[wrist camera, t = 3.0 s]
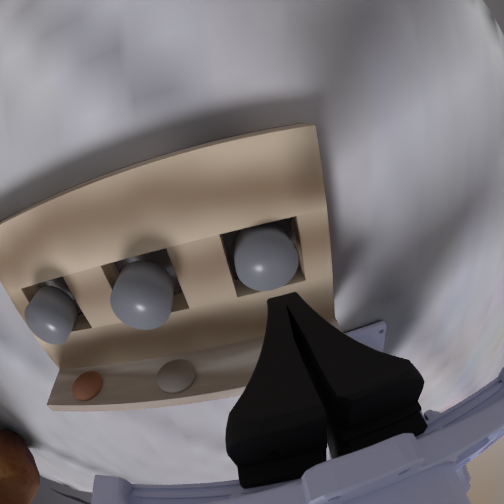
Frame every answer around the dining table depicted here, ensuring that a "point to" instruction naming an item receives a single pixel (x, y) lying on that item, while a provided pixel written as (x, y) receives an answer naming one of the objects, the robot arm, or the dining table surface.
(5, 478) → the butternut squash
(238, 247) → the button end
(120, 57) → the dining table surface
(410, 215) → the dining table surface
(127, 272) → the button middle
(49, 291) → the button end
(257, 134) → the button board
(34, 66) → the dining table surface
